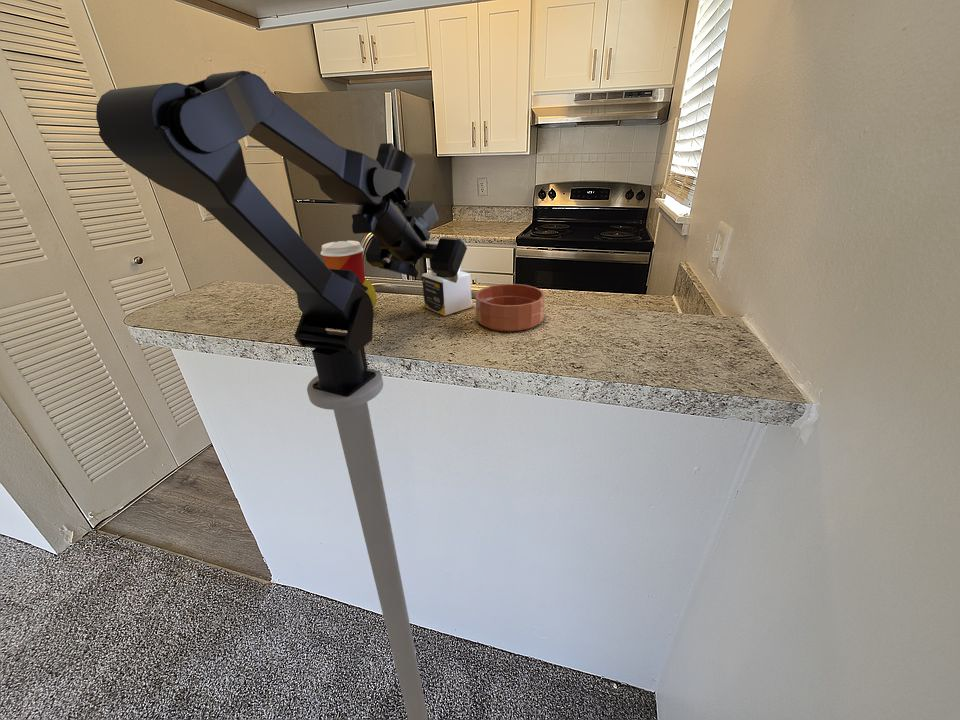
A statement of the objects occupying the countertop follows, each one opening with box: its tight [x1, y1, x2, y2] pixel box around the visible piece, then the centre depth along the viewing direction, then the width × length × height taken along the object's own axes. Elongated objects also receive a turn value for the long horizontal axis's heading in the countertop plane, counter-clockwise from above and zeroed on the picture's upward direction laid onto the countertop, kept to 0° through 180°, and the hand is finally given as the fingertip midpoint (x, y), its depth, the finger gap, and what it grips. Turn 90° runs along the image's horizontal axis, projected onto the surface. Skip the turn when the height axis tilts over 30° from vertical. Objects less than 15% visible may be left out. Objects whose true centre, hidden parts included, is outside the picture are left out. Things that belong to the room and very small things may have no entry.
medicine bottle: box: [421, 259, 473, 317], centre depth 81 cm, size 7×7×12 cm
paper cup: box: [319, 240, 366, 284], centre depth 77 cm, size 8×8×14 cm
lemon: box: [363, 278, 377, 309], centre depth 79 cm, size 6×6×8 cm
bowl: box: [475, 283, 546, 332], centre depth 76 cm, size 13×13×5 cm
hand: (436, 277), depth 77 cm, fingers open, 9 cm apart
